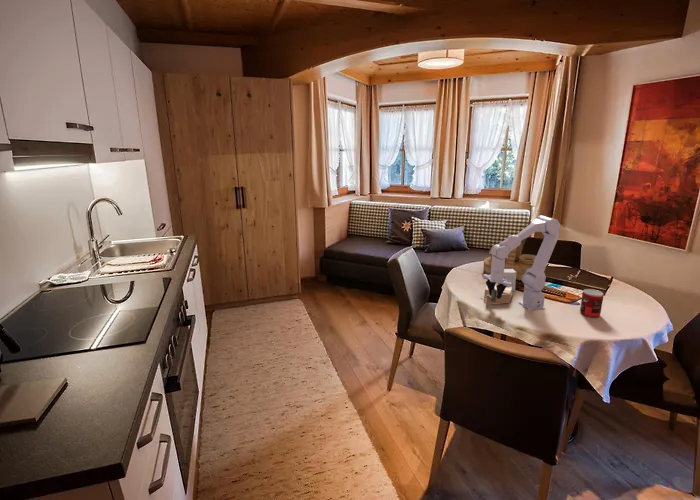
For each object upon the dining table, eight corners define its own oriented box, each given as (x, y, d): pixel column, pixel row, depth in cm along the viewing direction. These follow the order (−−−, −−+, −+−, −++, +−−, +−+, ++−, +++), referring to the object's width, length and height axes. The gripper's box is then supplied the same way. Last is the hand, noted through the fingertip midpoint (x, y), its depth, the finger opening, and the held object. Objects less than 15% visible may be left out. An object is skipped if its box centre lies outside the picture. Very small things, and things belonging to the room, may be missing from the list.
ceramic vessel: (477, 274, 223) (480, 234, 216) (488, 266, 236) (491, 228, 229) (538, 286, 201) (543, 243, 194) (546, 276, 215) (551, 235, 208)
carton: (511, 295, 190) (512, 286, 188) (509, 302, 182) (510, 293, 181) (487, 292, 196) (488, 283, 194) (484, 298, 188) (484, 289, 187)
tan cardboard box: (509, 302, 182) (510, 285, 179) (514, 307, 176) (516, 289, 174) (485, 303, 181) (487, 286, 179) (490, 308, 176) (492, 291, 173)
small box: (511, 286, 202) (513, 268, 199) (515, 290, 196) (516, 272, 193) (496, 286, 203) (498, 268, 200) (499, 290, 197) (501, 272, 194)
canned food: (581, 308, 173) (584, 287, 170) (601, 313, 168) (604, 291, 165) (578, 314, 167) (581, 292, 164) (599, 319, 162) (602, 296, 159)
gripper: (479, 267, 175) (477, 293, 179) (505, 276, 163) (502, 303, 167) (489, 264, 179) (487, 290, 182) (515, 272, 167) (512, 300, 170)
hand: (495, 296), depth 175 cm, fingers open, 4 cm apart
